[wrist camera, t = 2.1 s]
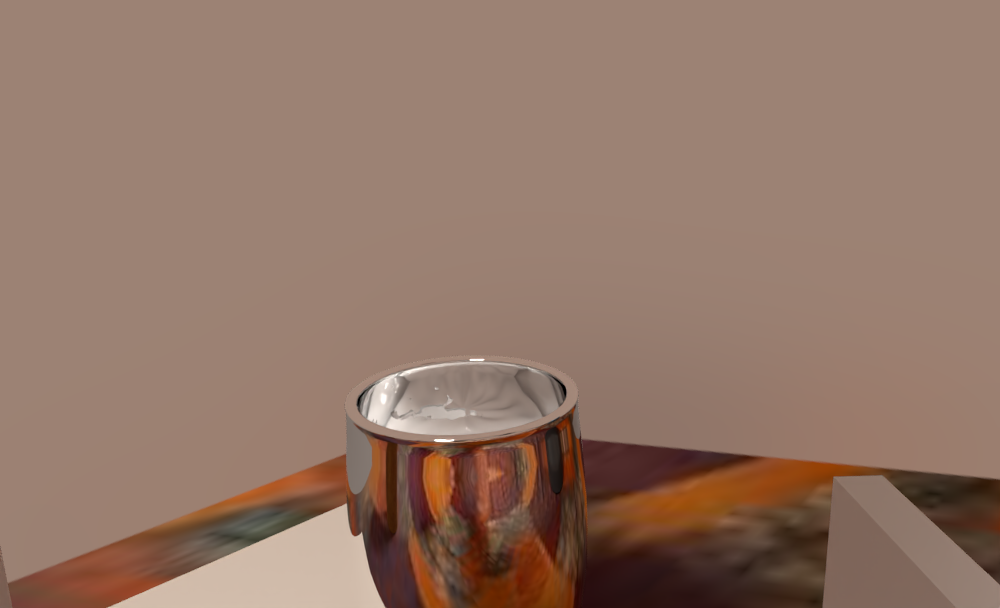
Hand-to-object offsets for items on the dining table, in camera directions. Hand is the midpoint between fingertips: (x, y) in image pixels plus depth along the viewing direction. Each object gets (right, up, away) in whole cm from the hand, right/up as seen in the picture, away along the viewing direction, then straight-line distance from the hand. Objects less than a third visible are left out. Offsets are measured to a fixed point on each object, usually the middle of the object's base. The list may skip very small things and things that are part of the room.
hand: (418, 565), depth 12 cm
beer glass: (+1, -13, +14) cm, 19 cm away
